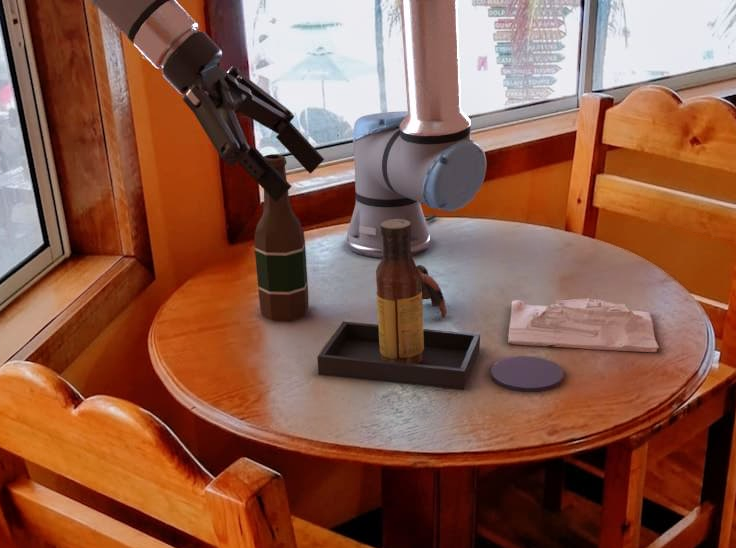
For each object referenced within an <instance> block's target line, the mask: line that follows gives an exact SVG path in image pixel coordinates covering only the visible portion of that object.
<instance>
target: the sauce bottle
mask: <svg viewBox="0 0 736 548" xmlns="http://www.w3.org/2000/svg"><path fill="white" fill-rule="evenodd" d="M411 232H412V230H411V223H410V222H409V221H407V220H403V219H391V220H386V221H384V222H382V223H381V235H382V238H383V258H381V260H380V262H379V263H378V266H377V267H376V270H375V281H376V307H377V322H378V323H377V324H378V325H379V343H380V353H381V357H382V361H390V362H400V363H410V364H420V363H421V362H422V360H423V350H424V337H423V329H424V317H423V316H424V315H423V314H424V313H423V311H424V310H423V300H422V288H421V281H420V272H419V270H418V269H417V267H416V266H417V264H416V263H415V260H414V258H413V255H411V245H410V235H411Z"/></svg>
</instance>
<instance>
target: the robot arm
mask: <svg viewBox="0 0 736 548" xmlns="http://www.w3.org/2000/svg"><path fill="white" fill-rule="evenodd" d="M90 1H91V3H92V5H94V6H96V7H97V9H99V10H100V11H101V12H102V14H103V15H104V16H105V17H106V18H107V19H108V20H109V21H111V22H112V24H113V25H115V27H117V29H119V31H120V32H121V33H122V34H123V35H125V37H126V38H127V39H128V40H129V41H130V42H131V43H132V44H133V45H134V46H135V48H136V49H138V51H139V52H140V53H141V57H142V59H144V60H148V61H149V62H150V63H151V65H152V66H153V67H155V69H159V70H160V69H162V70H161V73H162V77H163V78H164V79H165V80H166V81H167V82H168V83H169V84H170V85H171V86H172V87H173V88H174V89H175V90H176V91H177V92H178V93H179V94H180V95H182V97H181V98H182V101H183V102H184V103H185V105H186V106H187V107H188V108H189V109H190V110H191V112H192V113H193V114H194V116H195V117H196V119H197V121H198V122H199V125H200V126H201V128H202V129H203V130H204V132H205V134H206V135H207V137H208V139H209V140H210V142H211V144H212V146H213V147H214V149H215V151H216V152H217V154H218V155H219V157H220V158H221V160H222V161H223V162H225V163H227V165H229V166H230V167H235V166H236V165H237V163H238V164H239V165H240V166H241V167H242V168H243V169H244V170H245V171H246V172H247V174H249V175H250V176H251V177H252V178H253V180H255V182H256V183H258V185H259V186H260V187H261V188H262V189H263V191H264V190H265V191H266V192H267V193H268V194H269V195H270V196H271V197H272V198H273V199H274V200H275V201H276V202H277V201H279V199H280V198H281V197H282V196H283V195H284V194H285V193H286V192H287V191H288V192H289V190H290V189H291V188H292V185H291V184H290V183H289V182H288V180H287V181H286V180H285V179H284V178H283V177H282V176H281V174H280V173H279V172H278V171H277V170H276V169H275V168H274V167H273V166H272V165H271V164H270V163H269V162H268V161H267V160H266V158H265V157H264V156H265V155H263V154H262V153H261V152H260V151H259V149H257V148H256V146H252V147H251V148H250V145H249V144H248V141H247V138H246V137H245V134H244V132H243V129H242V128H241V125H240V122H239V120H238V118H237V115H236V114H243V115H245V116H246V117H248V118H250V119H251V120H253V121H254V122H256V123H258V124H260V125H262V126H264V127H265V128H267V129H269V130H270V131H272V132H274V133H275V134H277V135H276V136H275V138H276V139H277V141H279V142H280V143H281V144H282V146H283V147H284V148H285V149H286V150H287V152H289V153H290V154H291V155H292V156H293V157H294V158H295V160H296V161H297V162H298V163H299V164H300V165H301V166H302V167H303V168H304V169H305V170H306V172H307V173H309V174H310V175H311V174H312V173H313V172H314V171H315V170H316V169H317V168H318V167H319V166H320V165H321V163H322V162H323V161H325V158H324V157H323V155H321V154H320V152H319V151H317V149H316V148H315V147H314V146H313V145H312V144H311V143H310V142H309V141H308V139H307V138H306V137H305V136H304V135H303V134H302V133H301V132H300V131H299V130H298V129H297V128H296V127H295V125H293V123H292V120H293V119H294V118H295V115H294V113H293V112H292V111H290V109H288V108H287V107H286V106H284V104H283V103H281V102H280V101H278V100H277V99H276V98H274V97H273V96H272V95H270V94H269V93H268V92H266V91H265V90H264V89H263V88H262V87H260V86H259V85H257V84H256V83H254V82H253V80H251V79H249V78H248V77H247V76H246V75H245V74H244V73H243V72H242V71H241V70H240V69H239V68H238V67H237V66H235V65H232V66H231V67H230V68H229V69H228V71H226V70H225V69H224V68H223V67H221V65H220V61H221V60H222V57H223V52H222V51H223V50H222V49H221V48H220V47H219V46H218V45H217V44H216V43H215V42H214V41H213V39H212V38H211V37H210V36H209V35H208V34H207V33H206V31H202V30H199V24H198V22H197V21H196V20H194V18H193V17H192V16H191V15H190V14H189V13H188V12H187V11H186V10H185V9H184V7H183V6H182V5H180V3H179V2H178V1H177V0H90ZM399 2H400V16H401V30H402V31H401V32H402V33H401V34H402V45H403V46H402V47H403V61H404V76H405V77H404V78H405V89H406V91H405V93H406V105H407V107H406V108H407V111H387V112H386V111H385V112H378V113H372V114H371V113H370V114H367V115H366V114H365V115H363V116H360V117H359V118H357V119H356V121H355V122H354V125H353V137H352V143H353V158H354V159H353V160H354V188H355V189H354V191H355V205H354V209H353V212H352V215H351V219H350V222H349V227H348V230H347V234H346V245H347V248H348V249H349V250H351V251H352V252H354V253H356V254H359V255H361V256H366V257H371V258H381V259H382V258H383V238H382V235H381V223H382V222H384V221H386V220H391V219H403V220H407V221H409V222H410V223H411V230H412V232H411V235H410V245H411V256H415V255H417V254H421V253H422V252H424V251H427V250H428V248H429V247H430V244H431V241H430V239H431V237H430V236H431V235H430V230H429V228H428V224H427V222H429V221H432V220H433V219H435V218H436V217H437V215H436V214H435V213H433V214H431V215H429V216H427V217H425V214H424V211H423V208H422V205H421V204H423V205H426V207H428V208H431V209H435V210H442V211H445V212H453V211H457V210H460V209H462V208H464V207H465V206H467V205H468V204H469V203H471V202H472V201H473V200H474V198H475V197H476V195H477V193H478V192H479V191H480V190H481V188H482V185H483V183H484V180H485V178H486V174H487V158H486V154H485V152H484V150H483V148H481V146H480V145H479V144H478V143H477V142H475V141H473V140H472V122H471V119H470V118H469V117H468V115H466V113H464V111H462V106H461V105H462V103H461V79H460V75H461V74H460V50H459V31H458V30H459V27H458V25H459V23H458V0H399Z"/></svg>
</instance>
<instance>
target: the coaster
mask: <svg viewBox="0 0 736 548" xmlns="http://www.w3.org/2000/svg"><path fill="white" fill-rule="evenodd" d="M490 377H491V379H492V380H493V381H494V383H496V384H497V385H499V386H501V387H503V388H505V389H508V390H512V391H517V392H525V393H526V392H528V393H534V392H542V391H543V392H544V391H548V390H551V389H553V388H556V387H557V386H558V385H560V384H561V383H562V382H563V379H564V371H563V369H562V368H561V366H559V365H558V364H556V363H555V362H553V361H551V360H548V359H546V358H542V357H536V356H527V355H526V356H525V355H524V356H523V355H522V356H520V355H519V356H511V357H506V358H503V359H500V360H498V361H497V362H495V363H494V364H493V365H492V366H491V369H490Z"/></svg>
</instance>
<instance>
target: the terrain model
mask: <svg viewBox="0 0 736 548" xmlns="http://www.w3.org/2000/svg"><path fill="white" fill-rule="evenodd" d="M510 308H511V311H510V313H511V314H510V319H509V323H508V324H509V325H508V326H509V327H508V333H507V334H508V335H507V337H508V341H507V343H508V344H511V345H518V346H519V345H521V346H535V347H537V346H538V347H552V348H570V349H571V348H572V349H586V350H587V349H588V350H604V351H605V350H606V351H621V352H642V353H647V352H648V353H657V351H658V349H659V348H661V347H660V346H659V344H658V342H657V340H656V336H655V331H654V328H655V327H654V323H653V320H654V319H653V318H652V317H651V313H650V312H649V311H641V310H632V309H631V308H629V307H627V305H626V304H625V303H613V302H612V301H606V300H602V299H601V298H598V299H594V298H590V297H589V298H586V297H585V298H572V299H568V300H566V299H555V303H553V304H552V303H551V305H550V304H547V305H530V304H527V303H526V302H525V301H522V300H519V299H517V300H516V299H515V300H512V302H511V305H510Z"/></svg>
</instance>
